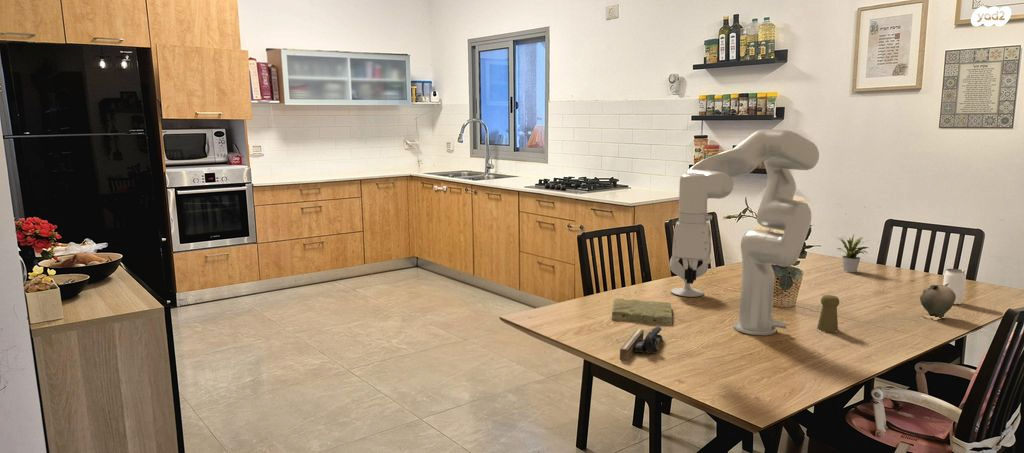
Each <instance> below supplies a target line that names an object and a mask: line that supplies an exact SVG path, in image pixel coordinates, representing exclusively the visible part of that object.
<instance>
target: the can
mask: <svg viewBox="0 0 1024 453" xmlns="http://www.w3.org/2000/svg"><path fill="white" fill-rule="evenodd" d="M966 277H967V276H966V273H965V270H962V269H958V268H957V269H956V268H946V271H945V272H944V277H943V284H942V285H946V284H948V283H949V284H948V285H947V287H949V288H950V289H951V290H952V291H953V292H954V293H955V295H956V298H955V303H960V302H962V303H963V300H964V295H965V294H964V292H965V285H966V279H967V278H966Z"/></svg>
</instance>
